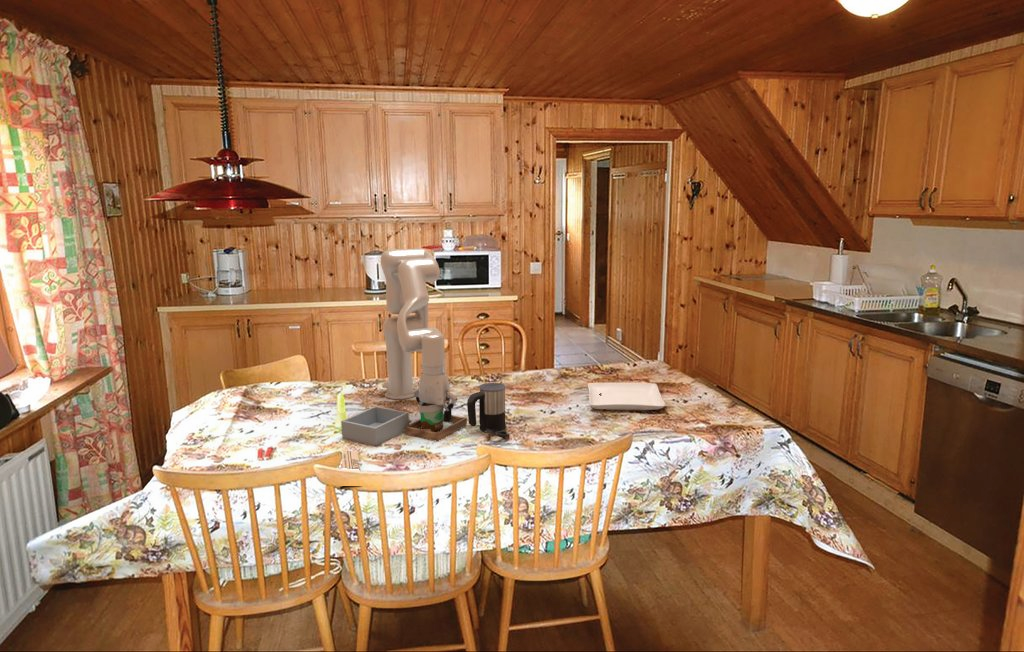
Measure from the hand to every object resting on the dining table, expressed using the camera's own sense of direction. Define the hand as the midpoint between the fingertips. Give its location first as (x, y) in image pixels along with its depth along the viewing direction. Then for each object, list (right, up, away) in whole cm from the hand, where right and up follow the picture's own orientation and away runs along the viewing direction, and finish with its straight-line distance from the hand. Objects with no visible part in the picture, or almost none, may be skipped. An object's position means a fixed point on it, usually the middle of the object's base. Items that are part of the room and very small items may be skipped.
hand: (436, 418), depth 212 cm
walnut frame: (0, -4, +1) cm, 4 cm away
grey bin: (-20, -5, -2) cm, 20 cm away
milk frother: (+20, -4, -3) cm, 21 cm away
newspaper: (-21, -11, -29) cm, 38 cm away
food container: (0, -4, +1) cm, 4 cm away
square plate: (+68, +2, +27) cm, 73 cm away
